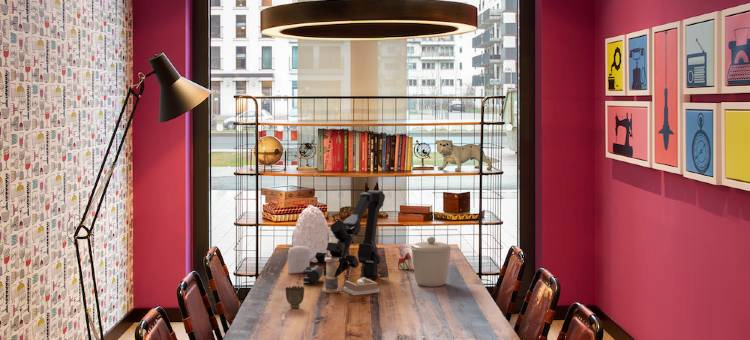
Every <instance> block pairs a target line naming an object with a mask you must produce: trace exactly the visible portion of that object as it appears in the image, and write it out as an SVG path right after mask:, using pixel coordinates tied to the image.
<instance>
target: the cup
mask: <svg viewBox="0 0 750 340" xmlns="http://www.w3.org/2000/svg"><path fill="white" fill-rule="evenodd" d="M285 297H286V301H287V303H288V304H289V307H290V308H291V309H295V310H297V309H299V308H300V307H301V306H300V305H301V303H302V302H303V300H304V297H305V287H304V286H303V285H301V286H299V285H298V286H296V285H292V286H289V287H288V286H286V287H285Z"/></svg>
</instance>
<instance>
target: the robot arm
mask: <svg viewBox="0 0 750 340" xmlns="http://www.w3.org/2000/svg"><path fill="white" fill-rule="evenodd" d="M385 195H386V194H385V193H384V192H383V190H373V189H372V190H371V189H370V190H369V189H368V191H366V192H361V193H360V195H359V197H358V198H359V199H358V200H357V202H356V204H355V207H354V209H352V213H350V215H349V216H348V217H347V218H345V219H344V221H343V219H337V221H334V222H333V223H332V224H331V225H330V227H329V228H330V229H329V230H330V232H331V233H332V234H333V236H334V238H335V239H336V240H337V242H331V243H330V242H328V245H327V249H326V250H328V251H330V252H329V256H328V255H327V254H326V253H324V252H317V253H316V255H315V258H316V259H317V261H318V262H317V263H318V264H319V265H323V276H324V277H326V261H325V258H327V257H336V258H339V261H338V262H337V263H338V265H337V271H336V273H335V277H337V278H338V277H339V276H340V275H341V274H342V273H344V272H346V270H349V269H351V268H352V269H357V268H358V266H359V264H361V266H360V275H359V276H361V277H362V278H366V279H370V278H379V275H378V265H380V264H381V257H380V255H379V253H378V246H377V245H376V243H375V242H376V241H375V240H376V234H377V227H378V220H379V219H378V218H379V211H380V209H381V208H382V207H383V206H384V202H385V199H386V196H385ZM366 211H367V215H366V221H365V222H366V223H365V229H364V235H363V236H364V237H363V241H362V242H361V243H359V244H358V249H357V256H355V255H353V254H349V253H350V251H349V250H350V247H351V245H354V244H355V240H354V238H353V237H352V236H358V235H359V233H360V231H361V227H362V224H361V222H362V219H363V218H364V215H365V213H366Z"/></svg>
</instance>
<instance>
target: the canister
mask: <svg viewBox="0 0 750 340" xmlns="http://www.w3.org/2000/svg"><path fill="white" fill-rule="evenodd" d="M410 249H411V256H412V257H411V258H412V267H413V274H414V280H415V282H416V284H417V285H419V286H421V287H427V288H434V287H435V288H437V287H442V286H444V285H445V283H447V278H448V274H449V266H450V258H451V251H452V249H453V247H452V246H450V245H449V244H447V243H445V242H439V241H436V238H435V237H434V236H429V237H427V239H426V241H421V242H416V243H414V244H413V245H411V246H410Z"/></svg>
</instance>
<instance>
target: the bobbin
mask: <svg viewBox="0 0 750 340" xmlns="http://www.w3.org/2000/svg"><path fill="white" fill-rule="evenodd" d="M325 261H326V276H325V277H324V280H325V281H324V288H323V292H324V293H330V294H333V293H335V294H336V293H339V292H340V287H339V278H338V276H337V277H335V273H336V271H337V268H338V263H339V262H338V261H339V258H336V257H327V258H325Z"/></svg>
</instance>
